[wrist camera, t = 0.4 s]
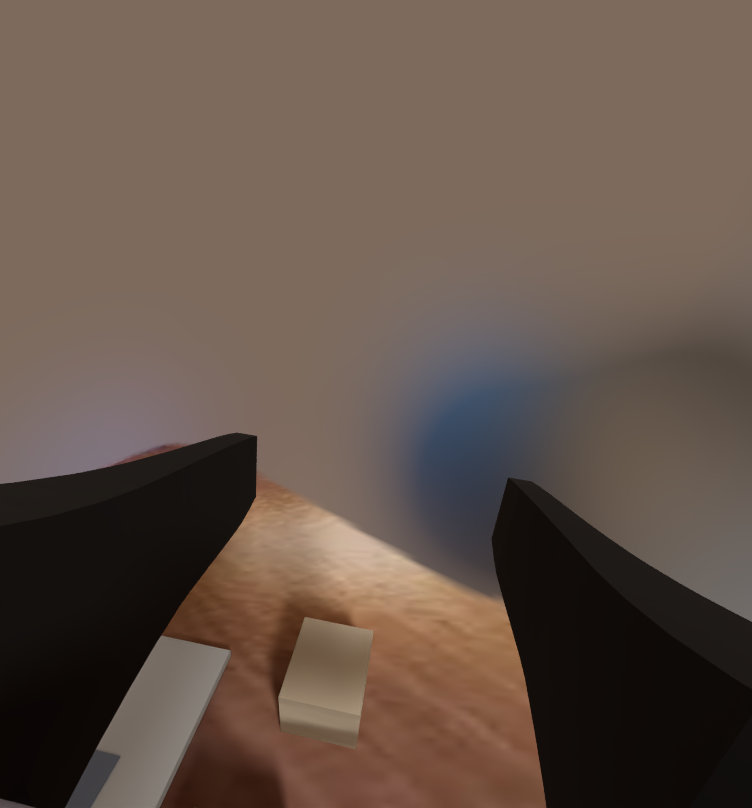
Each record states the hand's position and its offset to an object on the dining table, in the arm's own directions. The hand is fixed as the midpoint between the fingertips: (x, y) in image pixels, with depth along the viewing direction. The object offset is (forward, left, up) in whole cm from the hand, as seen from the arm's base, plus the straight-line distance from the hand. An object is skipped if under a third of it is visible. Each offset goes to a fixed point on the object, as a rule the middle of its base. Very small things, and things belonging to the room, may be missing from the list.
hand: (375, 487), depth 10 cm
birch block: (+4, +2, -21) cm, 21 cm away
